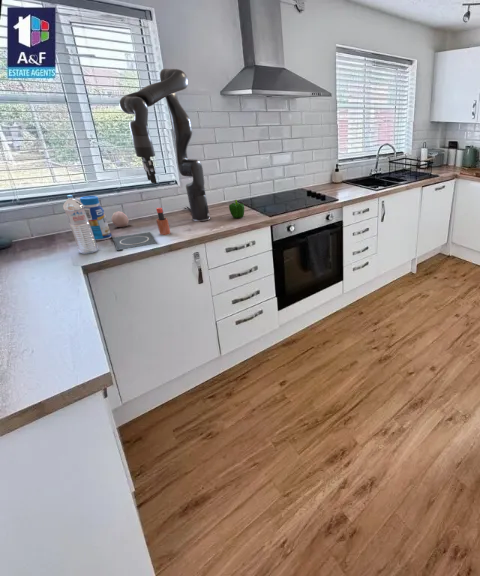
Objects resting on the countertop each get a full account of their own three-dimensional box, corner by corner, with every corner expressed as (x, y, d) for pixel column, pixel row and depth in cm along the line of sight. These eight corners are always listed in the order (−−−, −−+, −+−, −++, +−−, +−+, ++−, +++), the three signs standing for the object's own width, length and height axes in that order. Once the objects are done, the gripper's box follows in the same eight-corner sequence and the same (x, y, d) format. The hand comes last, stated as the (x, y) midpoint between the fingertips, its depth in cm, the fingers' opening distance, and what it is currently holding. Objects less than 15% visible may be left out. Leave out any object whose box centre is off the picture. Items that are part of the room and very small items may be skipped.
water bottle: (78, 255, 160) (57, 197, 149) (81, 250, 166) (61, 194, 155) (97, 253, 163) (78, 196, 152) (99, 248, 169) (81, 193, 157)
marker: (162, 233, 188) (155, 208, 182) (167, 232, 189) (161, 207, 184) (163, 234, 186) (156, 209, 180) (168, 233, 188) (162, 208, 182)
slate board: (112, 238, 180) (112, 237, 180) (150, 233, 189) (149, 231, 189) (117, 251, 166) (117, 249, 166) (157, 244, 175) (157, 242, 175)
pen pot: (159, 233, 188) (155, 218, 185) (169, 232, 191) (166, 217, 188) (161, 236, 185) (157, 221, 182) (171, 234, 188) (168, 219, 184)
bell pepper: (242, 219, 215) (240, 202, 211) (228, 218, 215) (226, 201, 211) (247, 215, 223) (245, 198, 218) (234, 214, 223) (231, 198, 218)
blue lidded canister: (89, 237, 180) (75, 196, 171) (109, 234, 186) (97, 194, 177) (93, 242, 175) (79, 200, 166) (114, 238, 181) (101, 197, 172)
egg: (133, 225, 200) (128, 209, 196) (125, 229, 193) (120, 213, 190) (119, 224, 199) (114, 209, 196) (111, 228, 193) (106, 213, 189)
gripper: (155, 146, 166) (164, 183, 173) (150, 143, 176) (158, 178, 183) (136, 147, 162) (146, 185, 169) (131, 144, 172) (140, 179, 179)
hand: (152, 181), depth 176 cm, fingers open, 8 cm apart
